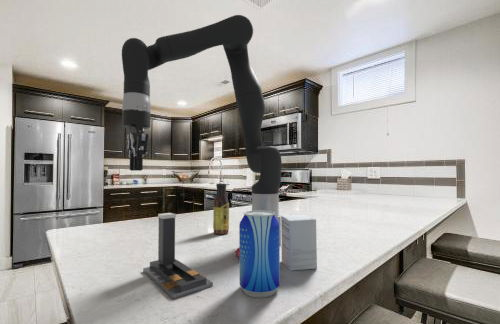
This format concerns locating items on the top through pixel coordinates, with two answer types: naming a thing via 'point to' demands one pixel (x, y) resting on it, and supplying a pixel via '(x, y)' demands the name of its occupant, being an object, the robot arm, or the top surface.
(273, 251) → the beer can
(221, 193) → the sauce bottle
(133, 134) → the robot arm
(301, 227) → the supplement box
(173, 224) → the fader knob
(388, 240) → the top surface
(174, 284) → the fader track
